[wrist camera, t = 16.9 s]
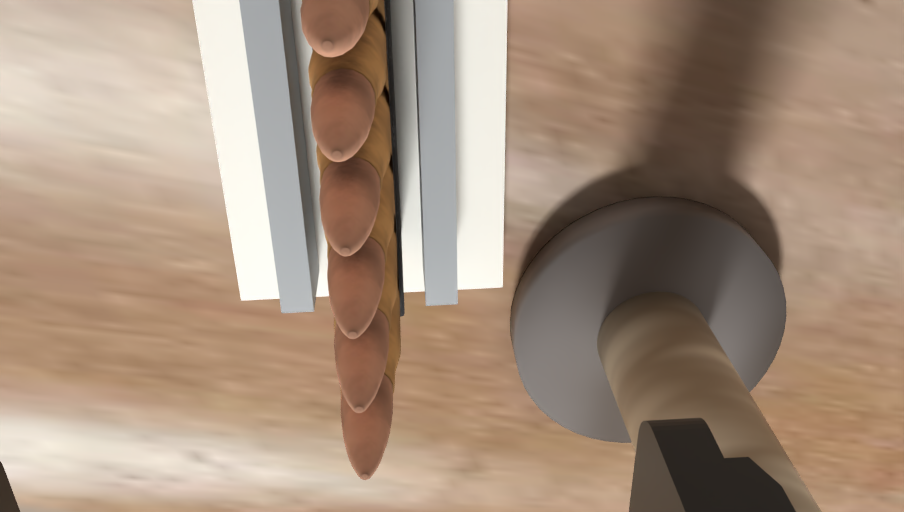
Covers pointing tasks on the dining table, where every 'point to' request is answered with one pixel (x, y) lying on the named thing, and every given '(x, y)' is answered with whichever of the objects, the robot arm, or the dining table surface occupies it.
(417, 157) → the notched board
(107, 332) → the dining table surface
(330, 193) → the ammunition clip
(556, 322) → the bobbin post
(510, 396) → the dining table surface
